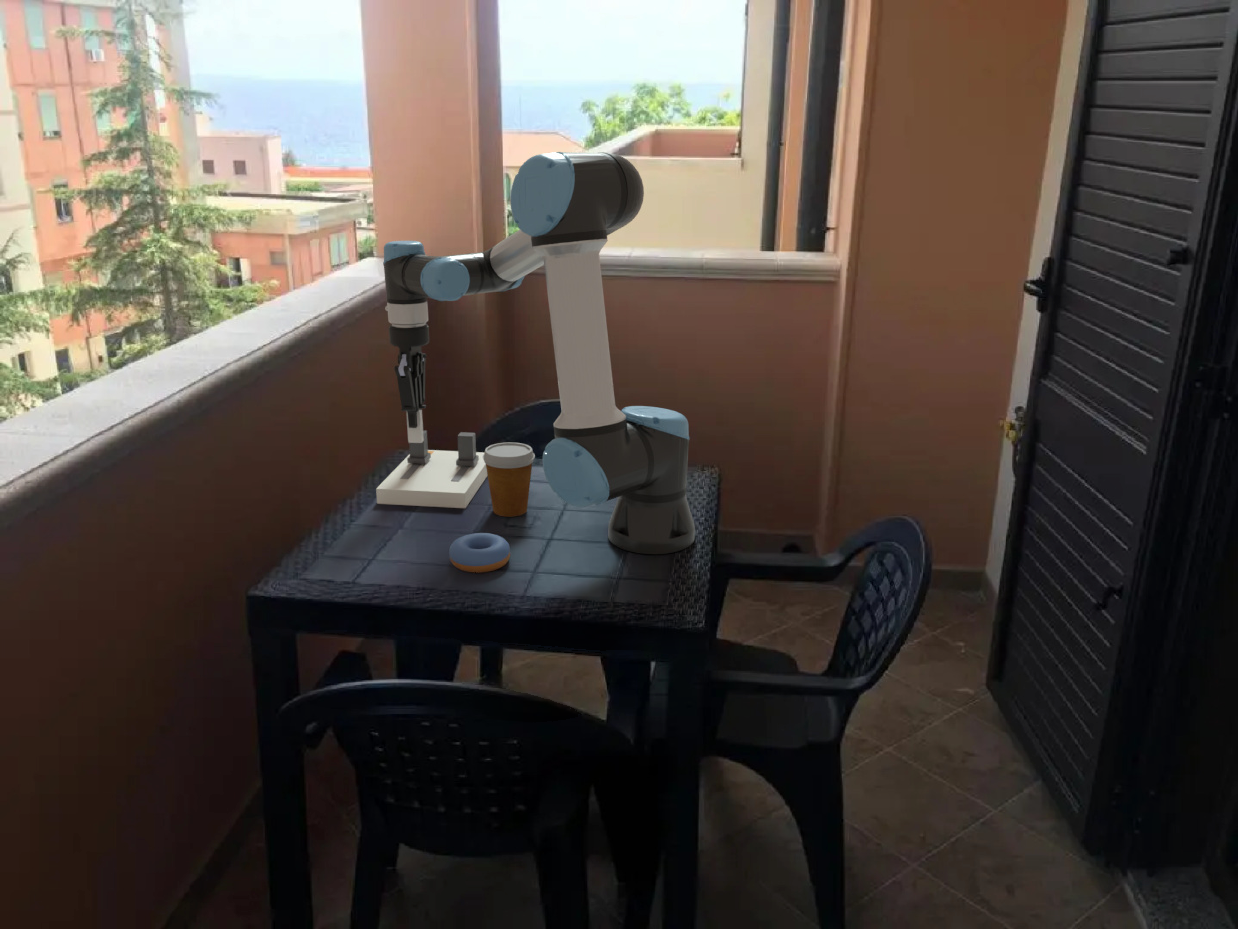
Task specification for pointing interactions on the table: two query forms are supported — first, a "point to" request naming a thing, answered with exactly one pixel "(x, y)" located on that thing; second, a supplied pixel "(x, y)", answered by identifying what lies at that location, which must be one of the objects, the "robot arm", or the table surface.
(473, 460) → the block
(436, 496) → the panel
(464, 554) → the doughnut
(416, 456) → the block
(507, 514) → the disposable coffee cup
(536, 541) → the table surface
